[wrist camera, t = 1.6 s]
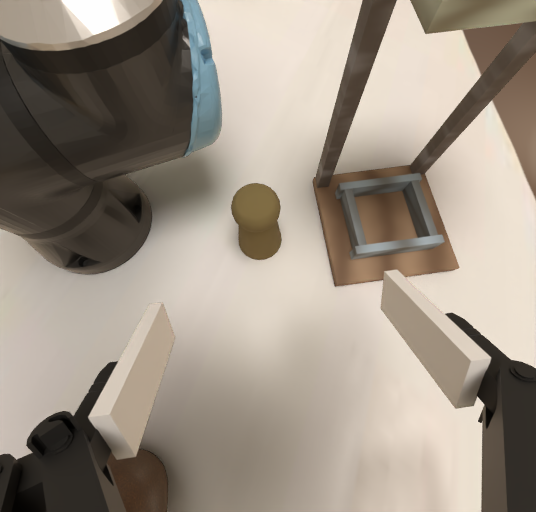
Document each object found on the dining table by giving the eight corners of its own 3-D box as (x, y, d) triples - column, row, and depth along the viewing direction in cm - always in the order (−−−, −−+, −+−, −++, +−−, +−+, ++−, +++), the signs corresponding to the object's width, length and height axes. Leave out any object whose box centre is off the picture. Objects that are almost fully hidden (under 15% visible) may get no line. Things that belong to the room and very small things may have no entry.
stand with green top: (331, 286, 34) (508, 130, 9) (308, 179, 39) (377, -126, 14) (456, 269, 35) (990, 69, 9) (419, 165, 40) (691, -157, 14)
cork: (256, 211, 38) (250, 163, 28) (290, 235, 37) (297, 194, 26) (229, 242, 37) (212, 204, 26) (263, 268, 35) (259, 239, 25)
